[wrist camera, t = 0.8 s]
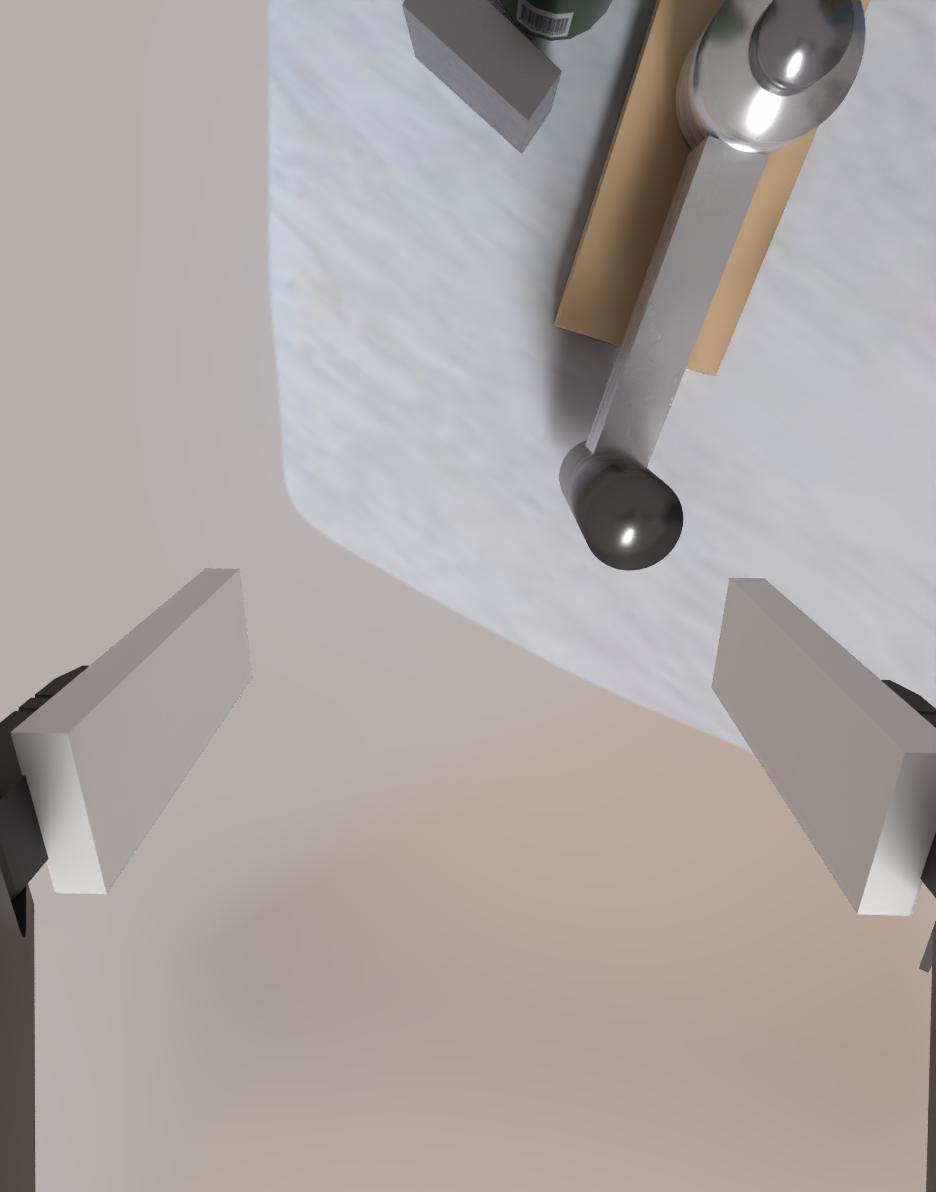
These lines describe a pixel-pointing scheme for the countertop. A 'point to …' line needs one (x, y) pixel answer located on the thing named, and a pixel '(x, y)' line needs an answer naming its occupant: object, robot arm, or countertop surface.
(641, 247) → the press bench
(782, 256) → the countertop surface
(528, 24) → the green drink can
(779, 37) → the pivot and anvil
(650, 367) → the lever
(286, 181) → the countertop surface
